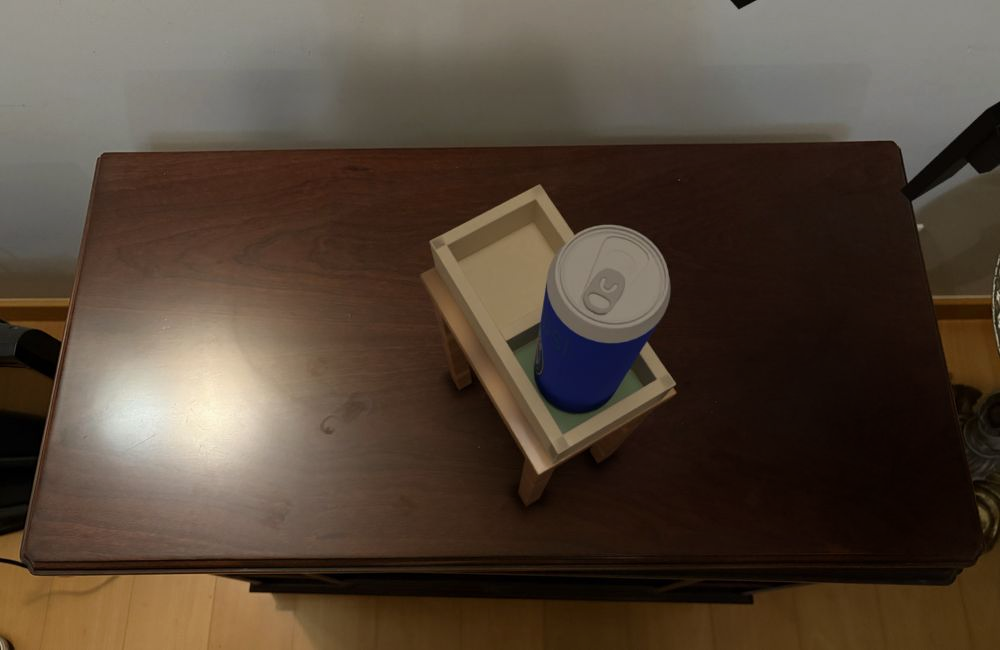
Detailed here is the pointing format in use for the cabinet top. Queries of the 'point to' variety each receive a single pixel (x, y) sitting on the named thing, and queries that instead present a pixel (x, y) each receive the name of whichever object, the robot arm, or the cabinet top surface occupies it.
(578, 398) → the beverage can
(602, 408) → the tray
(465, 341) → the shelf
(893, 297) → the cabinet top surface
